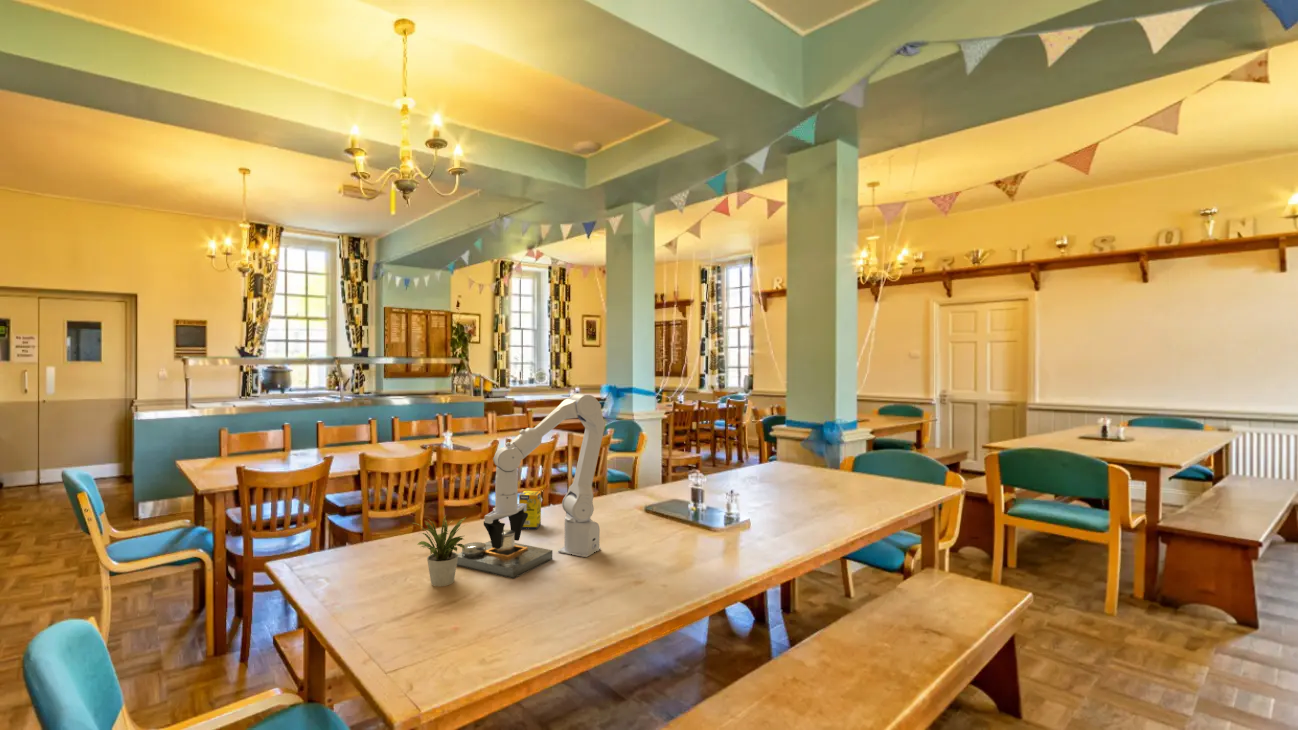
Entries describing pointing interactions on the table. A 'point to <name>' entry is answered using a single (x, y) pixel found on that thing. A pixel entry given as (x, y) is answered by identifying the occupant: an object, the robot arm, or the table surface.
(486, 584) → the table surface
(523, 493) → the supplement box
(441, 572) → the house plant
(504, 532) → the spout can
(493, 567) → the grey block with opening
